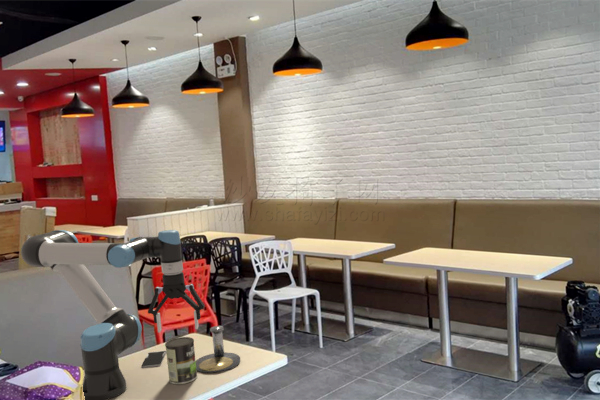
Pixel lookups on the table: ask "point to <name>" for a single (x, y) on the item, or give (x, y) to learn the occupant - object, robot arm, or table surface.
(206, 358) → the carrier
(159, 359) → the smartphone
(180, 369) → the coffee can
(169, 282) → the robot arm
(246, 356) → the table surface
